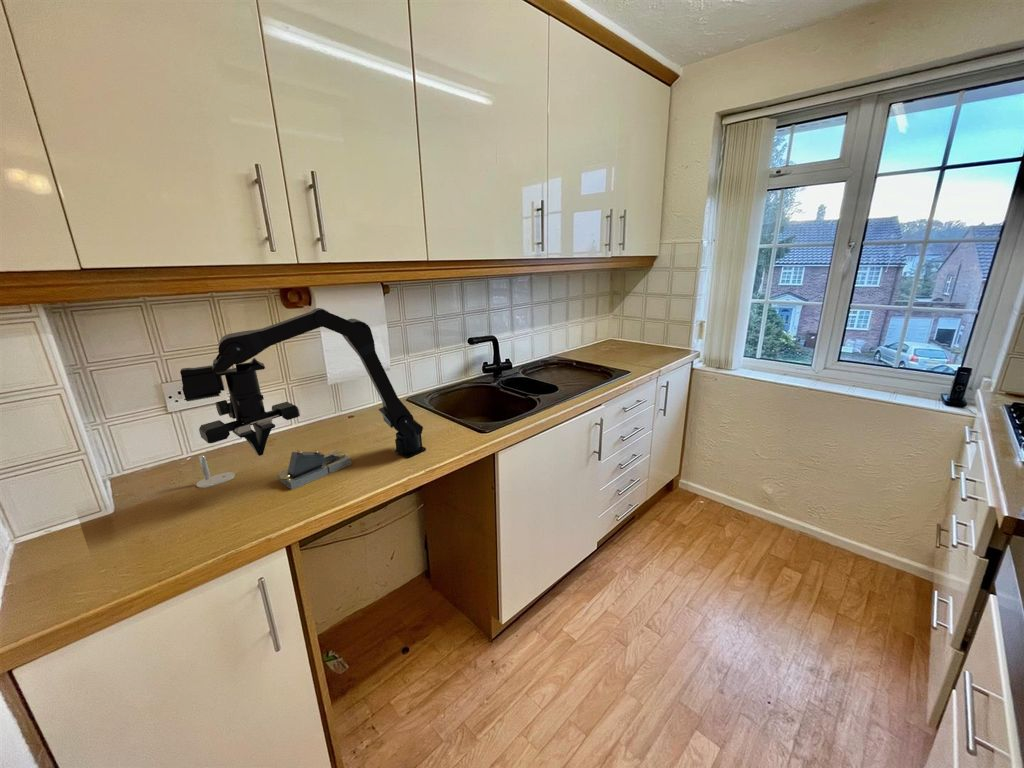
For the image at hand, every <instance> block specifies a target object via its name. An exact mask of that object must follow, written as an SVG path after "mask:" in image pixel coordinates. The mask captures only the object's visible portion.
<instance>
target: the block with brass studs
mask: <svg viewBox="0 0 1024 768" xmlns="http://www.w3.org/2000/svg"><path fill="white" fill-rule="evenodd" d="M324 456H325V454H324V453H322V452H321V450H314V451H304V450H300V449H299V450H296V451H292V452H291V455H290V458H289V464H288V468H287V470H288V472H289V473H291V474H292V475H298V476H302V475H304V474H306V473H309V472H311V471H314V470H316V469H319V468H321V467H323V466H322V464H323V459H324Z"/></svg>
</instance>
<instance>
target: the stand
mask: <svg viewBox="0 0 1024 768" xmlns="http://www.w3.org/2000/svg"><path fill="white" fill-rule="evenodd" d="M198 459H199V461H200V466H201V469H202V473H203V477H204V478H202V479H201V480H199V481H197V483H196V487H197V489H205V488H209V487H213V486H216V485H220V484H223V483H227V482H228V481H231V480H232V479H233V478H235V476H236V475H235V473H234V472H231V471H227V472H221V473H218V474H215V475H212V476H211V473H210V470H209V466H208V463H207V461H208V460H207V457H206V456H205V455H198Z"/></svg>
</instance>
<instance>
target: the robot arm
mask: <svg viewBox="0 0 1024 768" xmlns="http://www.w3.org/2000/svg"><path fill="white" fill-rule="evenodd" d="M319 328H325V329H328V330H329V331H332V332H335V333H338V334H340V335H341V336H342V337H343V338H344V340H345V341H346V342H347V344H348V345H349V346H350V347H351V348H352V350H353V352H355V353H356V354H357V356H358V357H359V359H360V361H361V363H362V365H363V367H364V369H365V371H366V372H367V375H368V376H369V378H370V380H371V382H372V384H373V386H374V389H375V391H376V392H377V393H378V395H379V399H380V400H381V403H382V407H381V408H378V411H379V412H380V413H381V415H382V418H383V421H384V422H385V423H386V425H388V426H389V427H390V428H391V429H394V430H396V433H395V440H394V441H395V449H394V453H396V454H398V455H400V456H403V457H405V458H406V459H408V458H409V459H410V458H411V457H414V456H416V455H418V454H421V453H422V452H424V451H427V448H426V447H425V446H423V439H422V434H423V430H424V426H423V425H421V423H419V422H418V421H417V420H416V419H415V418H414V416H413V414H412V413H411V412H410V411H409V409H408V408H407V406H406V405H405V404H404V403H403V401H401V399H400V398H399V397H398V395H397V393H396V391H395V389H394V387H393V385H392V382H391V381H390V379H389V377H388V374H387V373H386V371H385V369H384V366H383V365H382V364H383V363H382V362H381V360H380V358H379V356H378V354H377V352H376V346H375V345H376V344H375V339H374V337H373V332H372V330H371V327H370V326H369V324H367V323H366V322H364V321H361V320H359V319H357V318H349V319H345V318H344V317H340V316H339V315H336V314H333V313H331V312H329V311H328V310H326V309H324V308H320V307H317V308H313V310H311V311H308V312H305V313H302V314H300V315H296V316H294V317H291V318H288V319H285V320H282V321H279V322H277V323H273V324H272V325H269V326H265V327H263V328H260V329H259V328H258V329H250V330H241V331H238V332H233V333H232V332H231V333H227V334H226V335H224V336H222V337H221V338H220V339H219V342H218V354H217V356H216V357H215V359H213V363H212V365H206V366H205V365H204V366H197V367H184V368H181V369H180V372H179V373H180V377H181V382H182V389H181V390H182V392H183V395H184V398H185V401H186V402H192V401H193V402H194V401H198V400H205V399H209V398H217V397H220V396H221V394H222V391H225V385H224V379H223V376H224V377H225V380H226V385H227V388H228V393H229V395H228V397H229V402H228V400H226V399H224V400H220V401H216V402H215V407H216V408H215V409H216V410H217V414H218V416H220V417H221V416H225V415H228V416H229V418H230V419H231V418H232V419H233V420H232V421H231V422H225V423H224V422H223V421H222V420H220V419H219V420H215V421H211V422H208V423H204V424H201V425H200V426H199V429H198V431H199V434H200V438H201V439H202V440H204V441H205V442H206V443H207V444H214V443H218V442H220V441H224V440H227V439H228V438H229V436H230V435H231V433H230V432H232V433H233V434H234V435H236V436H237V437H238V438H241V439H242V438H244V440H245V441H247V442H248V444H249V445H250V447H251V448H252V449H253V450H254V452H255V453H256V455H257V456H259V457H261V456H263V455H264V452H265V449H266V445H267V441H268V439H269V436H270V433H271V431H272V429H274V428H276V424H275V423H273V420H274V419H276V418H280V417H281V418H282V419H284V420H287V421H289V420H292V419H297V418H299V417H300V416H301V414H300V410H299V408H298V406H297V405H295V404H293V403H291V402H289V401H284V402H281V403H277V404H273V405H272V406H271V410H269V411H265V410H266V409H265V406H264V401H263V400H265V399H264V395H263V394H262V392H261V388H260V384H259V383H260V382H259V379H258V374H257V371H262V370H265V369H266V366H265V363H263V362H261V361H259V360H258V359H257V358H255V357H256V356H257V355H260V354H261V353H262V352H263V351H264V350H266V349H268V348H269V347H271V346H274V345H277V344H278V343H282V342H284V341H287V340H290V339H293V338H294V337H298V336H301V335H303V334H306V333H309V332H312V331H314V330H317V329H319ZM249 360H251V361H249ZM247 361H249V362H247ZM233 366H235V367H233ZM232 367H233V368H232ZM251 426H252V427H253V429H252V428H251Z"/></svg>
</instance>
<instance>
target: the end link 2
mask: <svg viewBox="0 0 1024 768" xmlns="http://www.w3.org/2000/svg"><path fill="white" fill-rule="evenodd" d="M351 465H352V459H351V457H349V456H348V455H346V453H345V451H339V450H336V451H333V452H331V453H328V454H324V459H323V464H322V467H324V466H326V467H327V468H328V474H333V473H335V472H337V471H340V470H342V469H344V468H347V467H349V466H351Z"/></svg>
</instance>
